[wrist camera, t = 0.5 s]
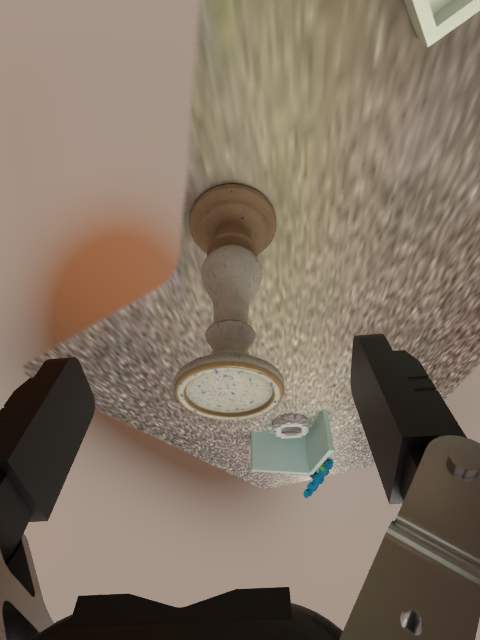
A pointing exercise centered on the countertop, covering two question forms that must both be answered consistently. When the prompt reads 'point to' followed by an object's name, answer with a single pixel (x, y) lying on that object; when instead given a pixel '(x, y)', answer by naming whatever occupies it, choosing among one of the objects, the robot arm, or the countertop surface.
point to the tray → (438, 17)
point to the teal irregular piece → (318, 478)
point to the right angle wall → (292, 445)
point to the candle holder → (231, 307)
